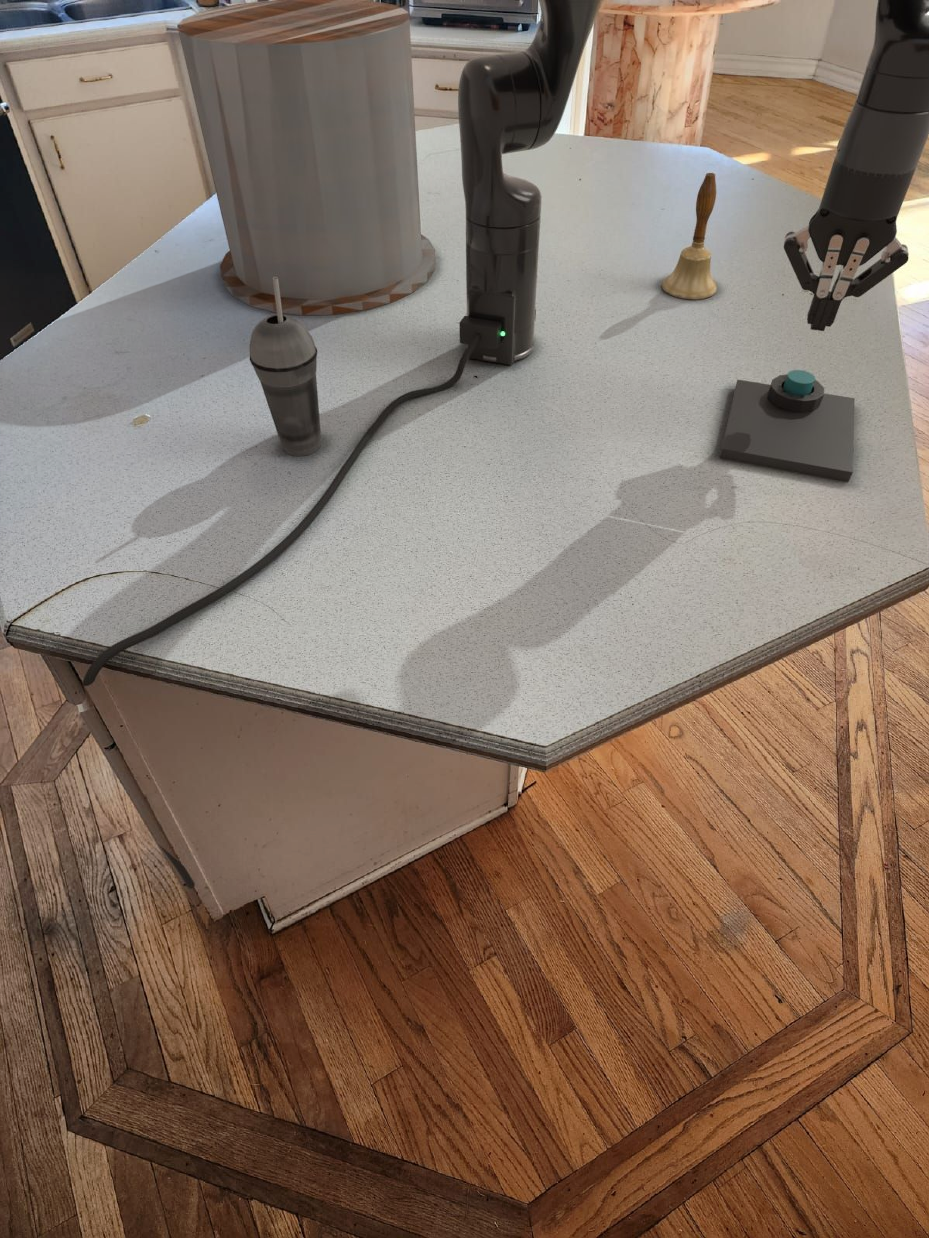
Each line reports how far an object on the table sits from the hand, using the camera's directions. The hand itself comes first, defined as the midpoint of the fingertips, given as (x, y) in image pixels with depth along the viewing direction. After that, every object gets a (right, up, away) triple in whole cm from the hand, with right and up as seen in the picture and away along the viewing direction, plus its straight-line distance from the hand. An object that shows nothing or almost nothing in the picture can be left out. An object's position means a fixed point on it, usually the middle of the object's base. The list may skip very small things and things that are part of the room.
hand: (817, 327), depth 87 cm
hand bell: (-6, +18, +31) cm, 36 cm away
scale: (-2, -11, +4) cm, 12 cm away
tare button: (0, -6, +5) cm, 8 cm away
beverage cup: (-60, -13, +4) cm, 61 cm away
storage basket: (-63, +25, +38) cm, 77 cm away
